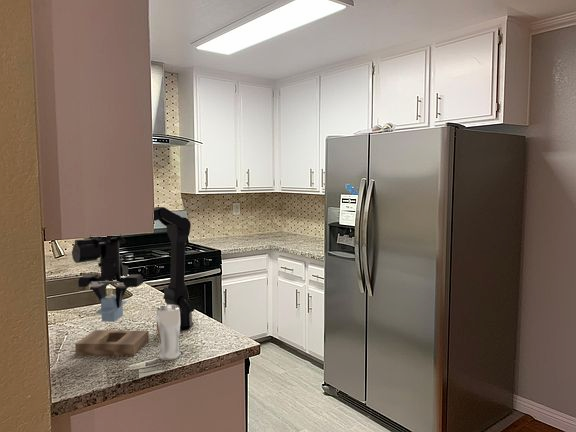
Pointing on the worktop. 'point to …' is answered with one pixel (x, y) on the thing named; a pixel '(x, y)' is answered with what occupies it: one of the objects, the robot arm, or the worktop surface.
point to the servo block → (110, 308)
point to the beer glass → (168, 331)
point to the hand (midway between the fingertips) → (112, 307)
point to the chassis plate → (112, 342)
